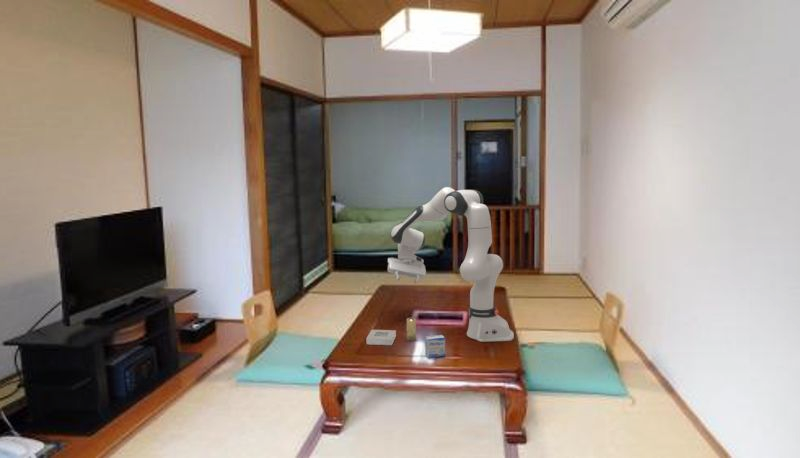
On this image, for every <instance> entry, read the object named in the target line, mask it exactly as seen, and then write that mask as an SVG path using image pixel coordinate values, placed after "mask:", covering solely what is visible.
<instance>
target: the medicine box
mask: <svg viewBox="0 0 800 458" xmlns="http://www.w3.org/2000/svg"><path fill="white" fill-rule="evenodd" d="M424 347H425V348H424V352H425V354H424V355H425V356H426V357H427V358H428V359H433V357H435V358H442V357H446V338H445V336H444V335H442V334H436V335H428V336H424ZM441 356H442V357H441Z"/></svg>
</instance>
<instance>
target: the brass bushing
mask: <svg viewBox="0 0 800 458" xmlns="http://www.w3.org/2000/svg"><path fill="white" fill-rule="evenodd" d="M416 340H417V319H416V317H407V318H406V341H409V342H412V341H413V342H414V341H416Z"/></svg>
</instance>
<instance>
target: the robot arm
mask: <svg viewBox="0 0 800 458" xmlns="http://www.w3.org/2000/svg"><path fill="white" fill-rule="evenodd" d="M450 213H452V214H453V215H457V216H461V217H462V216H465V217H466V221H467V237H468V238H467V239H468V242H467V251H466V254H465V257H464V260H463V262H462V263H461V265H460V267H459V274H460V276H461V278H462V279H463V280H465V282H474V284H473V286H472V287H471V289H470V293H469V296H470V297H469V308H468V317H469V321H468V327H467V331H466V336H467V337H468V338H470V339H473V340H476V341H478V342H481V343H482V342H484V343H485V342H511V341H513V340H514V339H515V336H514V335H515V334H514V331H513V330H512V329H510V327H509V324H508V321H507V320H506V319H504V318H503V317H502V316H500V315H499V310H498V308H497V307H495V306H494V294H495V287H496V284H497V279H498V278H499V275H500V273H501V272H502V270H503V269H504V261H503V260H502V258H501V257H500V255H498V254H496V253H495V254H493V253H488V252H489V248H490V247H491V245H492V244H493V235H492V234H493V233H492V221H491V214H490V210H489V207H488V206H487V205H486V204H484V197H483V194H482V193H481V192H480V191H479V190H477V189H459V190H455V189H454V188H453V187H448V186H445V187H443V188H442V189H440V190H439V191H438V192H436V194H435V195H434V196H433V197H432V198H431V200H430V201H429V202H427V203H425V204H423V205H419V206H417V207H416V208H415V209H414V210H412V211H411V212H410V213H409V214H408V215H407V216H406V217H404V219H402V220H401V221H399V223H397V224H396V225H394V226H393V228H392V229H391V231H390V238H391V240H392V241H393V243H395V244H397V252H398V254H397V257H393V256H391V257H388V258H387V272H388V273H389V274H394V277H395V278H396V281H401V276H406V277H411V278H415V279H414V280H413V284H415V285H417V284H418V282H419V281H418V280H420V279H421V280H423V279H425V277H426V274H427V270H426V265H425V264H424V259H423V258H422V257H419V256H417V255H415V253H416V252H418V251H420V250H422V249H423V248H424V247H425V244H426V237H425V234H424V232H422V231H420V230H417V229H414V228H411V227H413V226H414V225H415V224H416V223H418V222H433V223H434V222H435V223H436V222H441V221H443V220H444V219H446V218H447V216H448V215H449V214H450ZM400 275H401V276H400Z"/></svg>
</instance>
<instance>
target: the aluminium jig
mask: <svg viewBox="0 0 800 458" xmlns="http://www.w3.org/2000/svg"><path fill="white" fill-rule="evenodd" d="M396 336H397V330H396V329H395V330H390V329H371V330H370V332H369V333H368V335H367V337H366V339H365V340H366V345H369V346H370V345H371V346H372V345H373V346H376V345H377V346H393V343H394V341H395V339H396Z"/></svg>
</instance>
